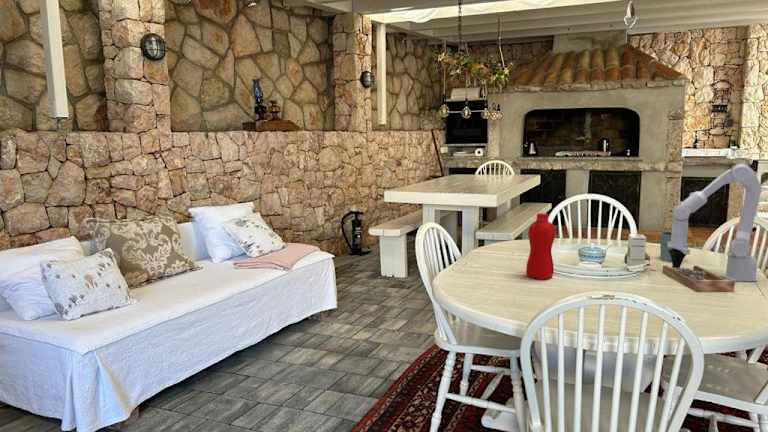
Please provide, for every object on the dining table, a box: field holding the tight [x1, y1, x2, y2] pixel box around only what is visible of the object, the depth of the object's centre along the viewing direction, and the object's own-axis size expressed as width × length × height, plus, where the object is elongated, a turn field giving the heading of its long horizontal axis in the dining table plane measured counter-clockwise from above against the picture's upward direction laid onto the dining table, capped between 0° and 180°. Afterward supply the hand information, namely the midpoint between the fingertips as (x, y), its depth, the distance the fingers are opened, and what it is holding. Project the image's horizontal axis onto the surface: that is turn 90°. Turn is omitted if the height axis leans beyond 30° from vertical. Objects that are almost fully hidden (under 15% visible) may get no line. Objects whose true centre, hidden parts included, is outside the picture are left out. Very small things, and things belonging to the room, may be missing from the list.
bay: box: [662, 265, 736, 293], centre depth 214 cm, size 13×25×4 cm, turn 179°
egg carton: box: [673, 267, 707, 281], centre depth 218 cm, size 11×8×4 cm
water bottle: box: [525, 212, 556, 281], centre depth 219 cm, size 9×11×25 cm
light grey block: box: [623, 251, 651, 263], centre depth 242 cm, size 10×10×8 cm
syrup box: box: [626, 233, 647, 273], centre depth 229 cm, size 6×6×14 cm
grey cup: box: [659, 230, 673, 263], centre depth 246 cm, size 10×10×12 cm
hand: (676, 267), depth 229 cm, fingers closed
